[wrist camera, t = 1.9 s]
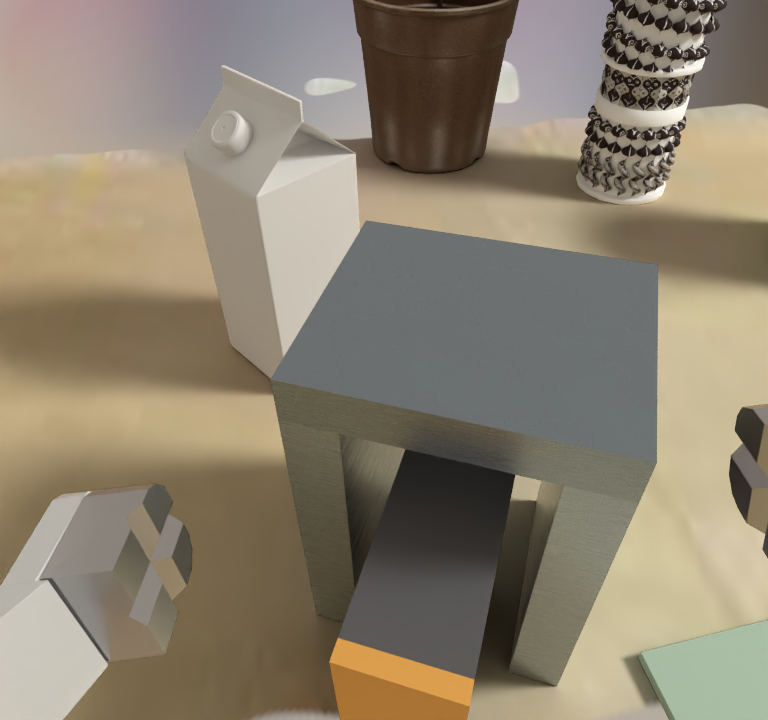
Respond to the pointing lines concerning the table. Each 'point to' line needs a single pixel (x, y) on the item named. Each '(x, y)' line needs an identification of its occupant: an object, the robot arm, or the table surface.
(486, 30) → the plant pot
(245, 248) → the milk carton
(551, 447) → the frame
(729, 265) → the table surface
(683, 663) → the pad
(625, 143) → the white and brown cylinder
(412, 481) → the orange and grey block
